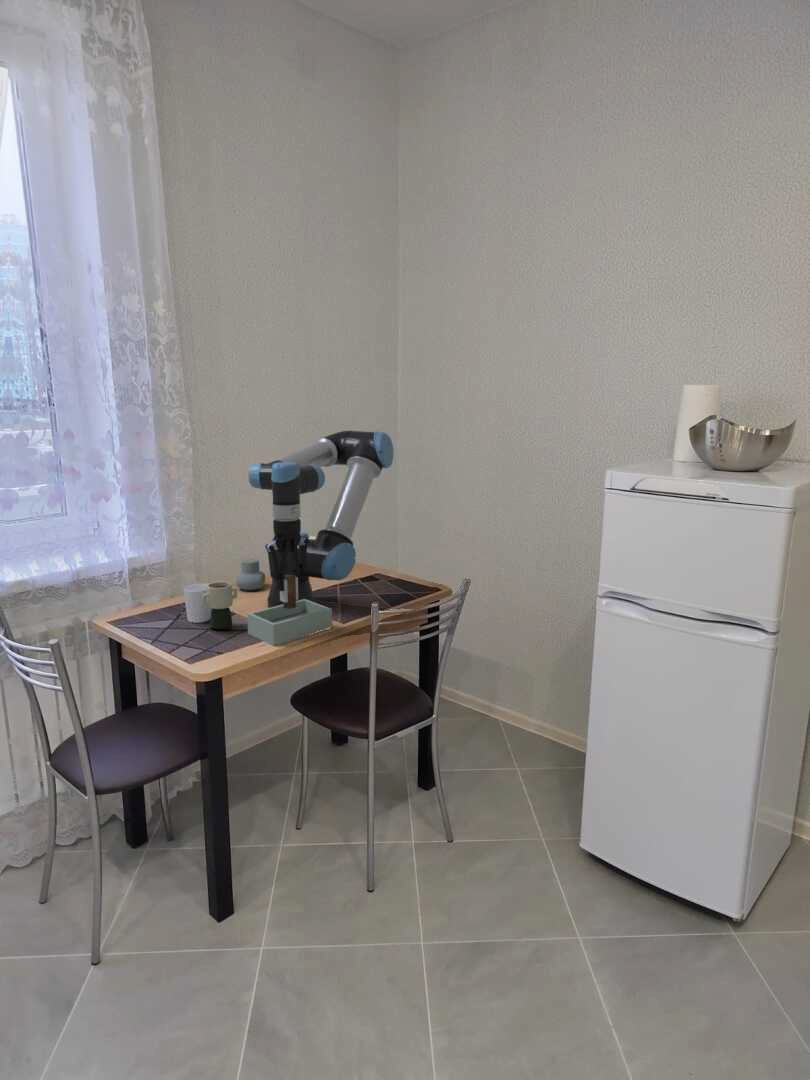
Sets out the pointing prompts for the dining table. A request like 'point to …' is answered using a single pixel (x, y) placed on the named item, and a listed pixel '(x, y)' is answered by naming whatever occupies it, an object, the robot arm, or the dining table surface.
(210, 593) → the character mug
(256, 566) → the air freshener
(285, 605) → the peg
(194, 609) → the white cup
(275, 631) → the box
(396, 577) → the dining table surface
